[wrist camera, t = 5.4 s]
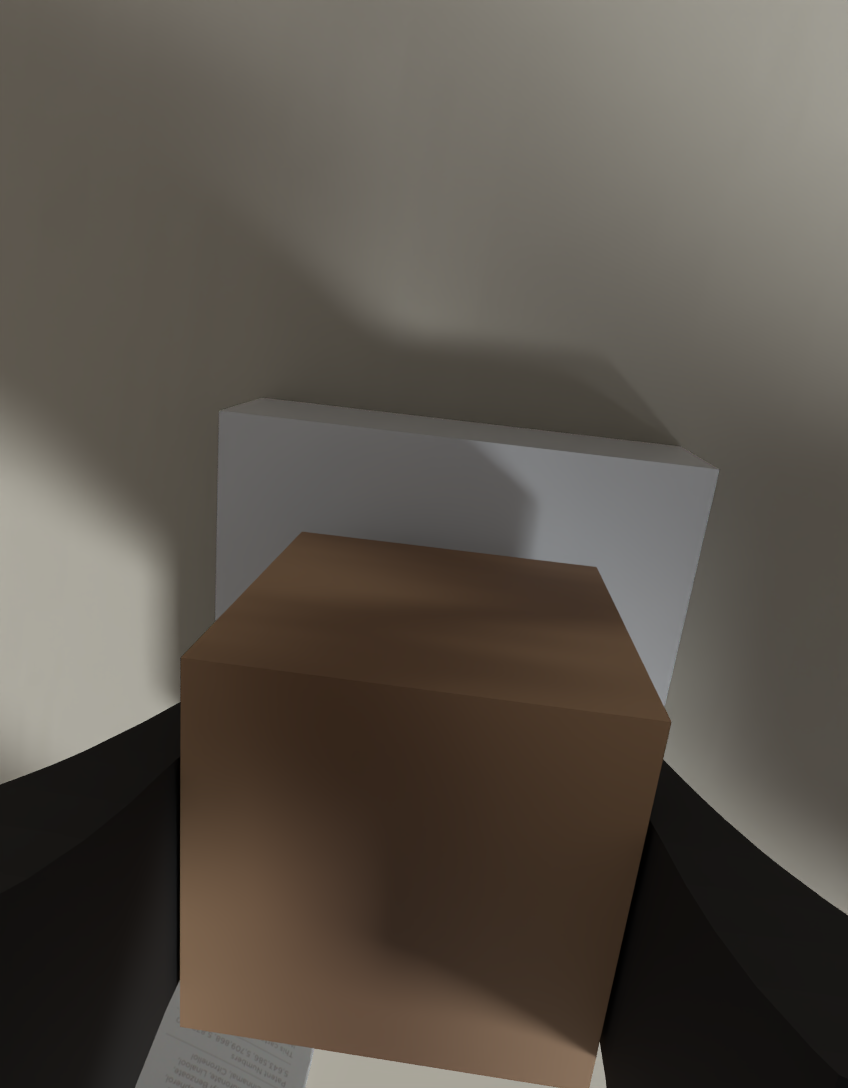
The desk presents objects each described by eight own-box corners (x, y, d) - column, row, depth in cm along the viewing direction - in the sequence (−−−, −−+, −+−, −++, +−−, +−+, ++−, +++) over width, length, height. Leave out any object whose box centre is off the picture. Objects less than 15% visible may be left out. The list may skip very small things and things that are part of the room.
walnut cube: (596, 566, 12) (671, 721, 7) (551, 820, 13) (587, 1092, 8) (301, 531, 12) (180, 657, 7) (288, 783, 14) (179, 1027, 9)
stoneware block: (675, 443, 15) (719, 469, 12) (601, 795, 18) (623, 883, 15) (267, 395, 16) (218, 410, 13) (253, 746, 18) (211, 823, 16)
